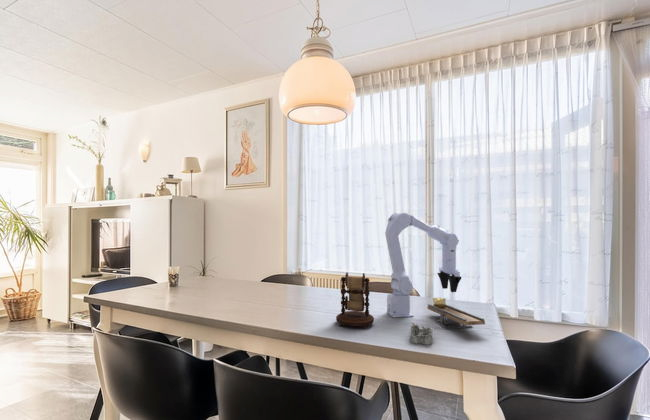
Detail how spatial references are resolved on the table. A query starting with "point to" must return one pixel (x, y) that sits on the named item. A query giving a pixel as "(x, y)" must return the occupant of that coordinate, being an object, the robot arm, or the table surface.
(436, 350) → the table surface
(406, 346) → the table surface
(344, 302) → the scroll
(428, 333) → the egg carton
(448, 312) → the beam
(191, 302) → the table surface
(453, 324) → the pivot bracket
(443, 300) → the brass weight
